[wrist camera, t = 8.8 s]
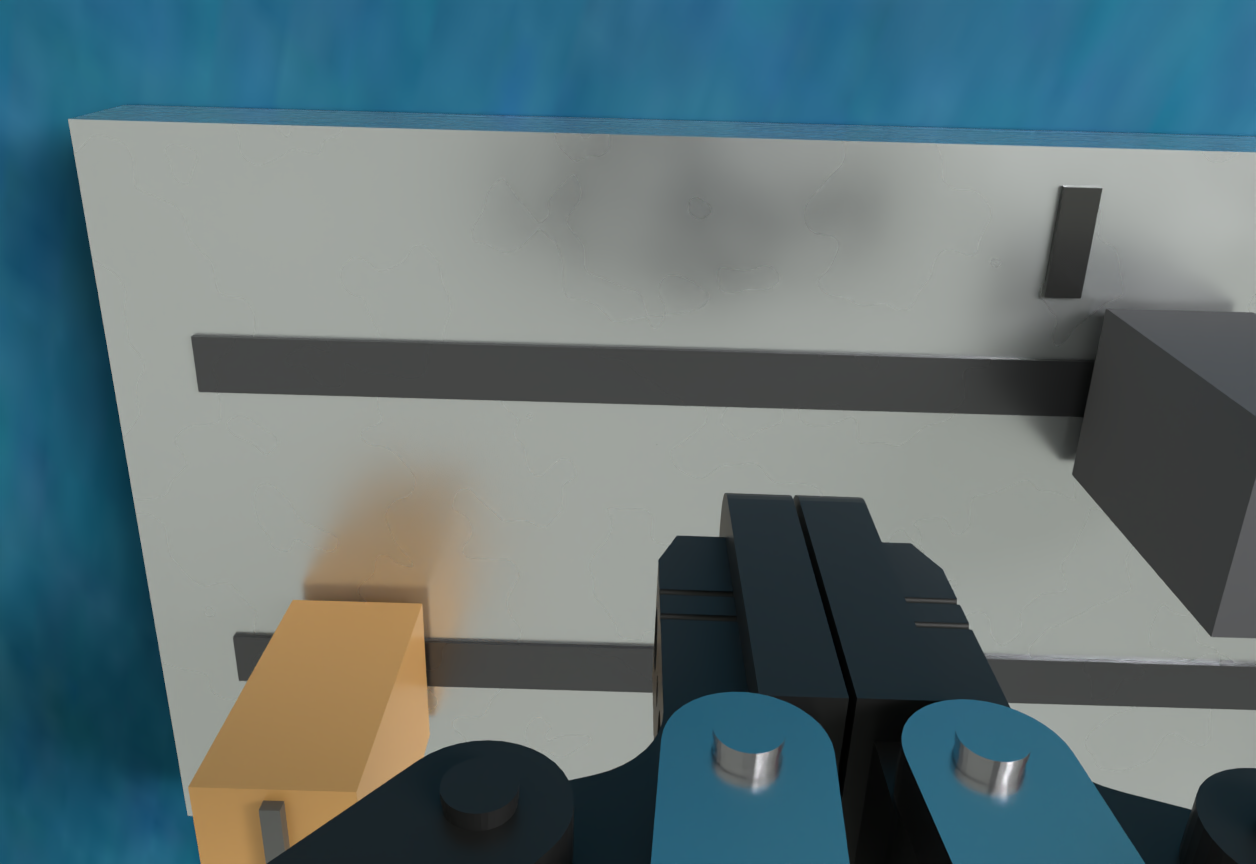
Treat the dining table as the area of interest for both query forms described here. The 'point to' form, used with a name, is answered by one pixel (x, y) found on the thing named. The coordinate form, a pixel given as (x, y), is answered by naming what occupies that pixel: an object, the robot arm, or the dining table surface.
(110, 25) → the dining table surface
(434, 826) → the robot arm
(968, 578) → the console
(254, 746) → the fader orange
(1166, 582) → the block
